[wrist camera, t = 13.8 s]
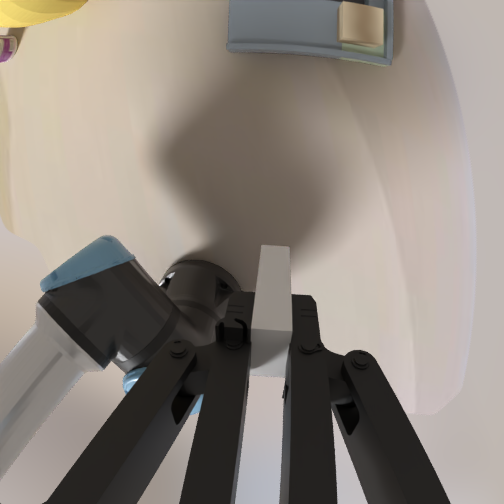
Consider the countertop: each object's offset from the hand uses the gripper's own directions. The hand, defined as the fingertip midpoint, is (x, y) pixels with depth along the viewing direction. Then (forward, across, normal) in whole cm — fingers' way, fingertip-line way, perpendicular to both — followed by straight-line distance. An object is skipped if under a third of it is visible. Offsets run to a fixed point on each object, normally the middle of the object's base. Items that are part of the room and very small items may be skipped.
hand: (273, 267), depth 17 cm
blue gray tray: (+29, +4, +22) cm, 37 cm away
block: (+27, +9, +20) cm, 35 cm away
